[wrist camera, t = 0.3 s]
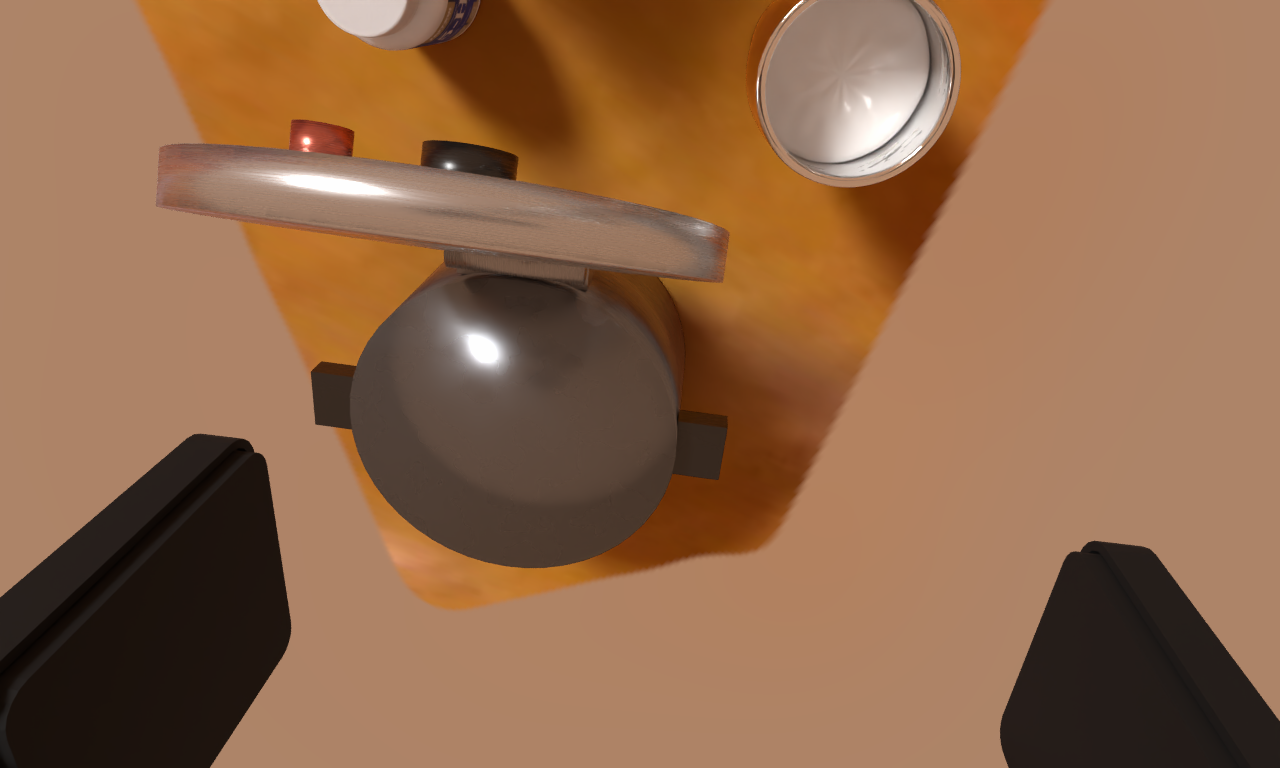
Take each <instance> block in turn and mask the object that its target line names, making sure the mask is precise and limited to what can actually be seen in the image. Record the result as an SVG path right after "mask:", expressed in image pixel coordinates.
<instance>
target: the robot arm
mask: <svg viewBox="0 0 1280 768" xmlns="http://www.w3.org/2000/svg"><path fill="white" fill-rule="evenodd" d="M290 635H291V619H290V613H289V606H288V600H287V593H286V586H285V580H284V574H283V567H282V561H281V554H280V547H279V541H278V534H277V528H276V521H275V514H274V508H273V501H272V495H271V488H270V482H269V475H268V470H267V464H266V460H265V458H264V457H263V455H261V454H260V453H254V449H253V447H252V445H251V444H250V442H249V441H247V440H245V439H240V438H232V437H223V436H215V435H207V434H194V435H192V436H190V437H189V438H187V439H186V440H185V441H183V442H182V443H181V444H180V445H179V446H178V447H176V448H175V449H174V450H173V451H172V452H170V453H169V454H168V455H167V456H166V457H165V458H164V459H162V460H161V461H160V462H159V463H158V464H156V465H155V466H154V467H153V468H152V469H151V470H149V471H148V472H147V473H146V474H145V475H143V476H142V477H141V478H140V479H139V480H138V481H137V482H135V483H134V484H133V485H132V486H131V487H129V488H128V489H127V490H126V491H125V492H124V493H123V494H121V495H120V496H119V497H118V498H117V499H115V500H114V501H113V502H112V503H111V504H109V505H108V506H107V507H106V508H105V509H104V510H103V511H101V512H100V513H99V514H98V515H97V516H95V517H94V518H93V519H92V520H91V521H90V522H88V523H87V524H86V525H85V526H84V527H82V528H81V529H80V530H79V531H78V532H77V533H75V535H73V536H72V537H71V538H70V539H68V540H67V541H66V542H65V543H64V544H63V545H61V546H60V547H59V548H58V549H57V550H56V551H54V552H53V553H52V554H51V555H50V556H48V557H47V558H46V559H45V560H44V561H43V562H41V563H40V564H39V565H38V566H37V567H36V568H34V569H33V570H32V571H31V572H30V573H29V574H27V575H26V576H25V577H24V578H23V579H21V580H20V581H19V582H18V583H17V584H16V585H14V586H13V587H12V588H11V589H10V590H9V591H7V592H6V593H5V594H4V595H3V596H2V597H0V768H210V766H211V765H212V763H213V762H214V760H215V759H216V757H217V756H218V754H219V753H220V751H221V749H222V748H223V747H224V745H225V744H226V742H227V741H228V739H229V738H230V736H231V734H232V733H233V731H234V730H235V728H236V727H237V725H238V724H239V722H240V721H241V719H242V718H243V716H244V715H245V713H246V711H247V710H248V709H249V707H250V705H251V704H252V702H253V701H254V699H255V698H256V696H257V695H258V693H259V692H260V690H261V689H262V687H263V686H264V684H265V683H266V681H267V680H268V678H269V676H270V675H271V673H272V672H273V670H274V669H275V667H276V666H277V664H278V663H279V661H280V660H281V658H282V657H283V655H284V653H285V651H286V648H287V646H288V643H289V639H290ZM1000 739H1001V745H1002V750H1003V753H1004V756H1005V759H1006V762H1007V764H1008V767H1009V768H1280V721H1279V720H1278V718H1277V717H1276V716H1275V714H1274V713H1273V712H1272V710H1271V709H1270V708H1269V706H1268V705H1267V704H1266V702H1265V701H1264V700H1263V698H1262V697H1261V696H1260V694H1259V693H1258V692H1257V690H1256V689H1255V687H1254V686H1253V685H1252V683H1251V682H1250V681H1249V679H1248V678H1247V677H1246V675H1245V674H1244V673H1243V671H1242V670H1241V669H1240V667H1239V666H1238V665H1237V663H1236V662H1235V661H1234V659H1233V658H1232V657H1231V655H1230V654H1229V652H1228V651H1227V650H1226V648H1225V647H1224V646H1223V644H1222V643H1221V642H1220V640H1219V639H1218V638H1217V637H1216V635H1215V634H1214V632H1213V631H1212V630H1211V628H1210V627H1209V626H1208V624H1207V623H1206V622H1205V620H1204V619H1203V617H1202V616H1201V615H1200V614H1199V612H1198V611H1197V609H1196V608H1195V607H1194V605H1193V604H1192V603H1191V601H1190V600H1189V599H1188V597H1187V596H1186V595H1185V593H1184V592H1183V591H1182V589H1181V588H1180V587H1179V585H1178V584H1177V583H1176V581H1175V580H1174V579H1173V577H1172V576H1171V575H1170V573H1169V572H1168V571H1167V569H1166V568H1165V566H1164V565H1163V564H1162V562H1161V561H1160V560H1159V558H1158V557H1157V556H1156V554H1154V553H1153V552H1152V551H1151V550H1150V549H1148V548H1145V547H1142V546H1134V545H1125V544H1117V543H1108V542H1099V541H1092V542H1088V543H1087V544H1086V545H1085V546H1084V547H1083V549H1082V550H1081V552H1071V553H1070V554H1069V555H1067V557H1066V559H1065V560H1064V562H1063V565H1062V567H1061V570H1060V572H1059V575H1058V578H1057V580H1056V582H1055V585H1054V588H1053V590H1052V593H1051V595H1050V597H1049V600H1048V603H1047V605H1046V608H1045V610H1044V613H1043V616H1042V618H1041V620H1040V623H1039V625H1038V628H1037V630H1036V633H1035V635H1034V638H1033V641H1032V643H1031V645H1030V648H1029V651H1028V653H1027V656H1026V658H1025V661H1024V663H1023V666H1022V668H1021V671H1020V673H1019V676H1018V678H1017V681H1016V683H1015V686H1014V688H1013V691H1012V693H1011V696H1010V699H1009V701H1008V703H1007V706H1006V709H1005V711H1004V714H1003V716H1002V720H1001V727H1000Z"/></svg>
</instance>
